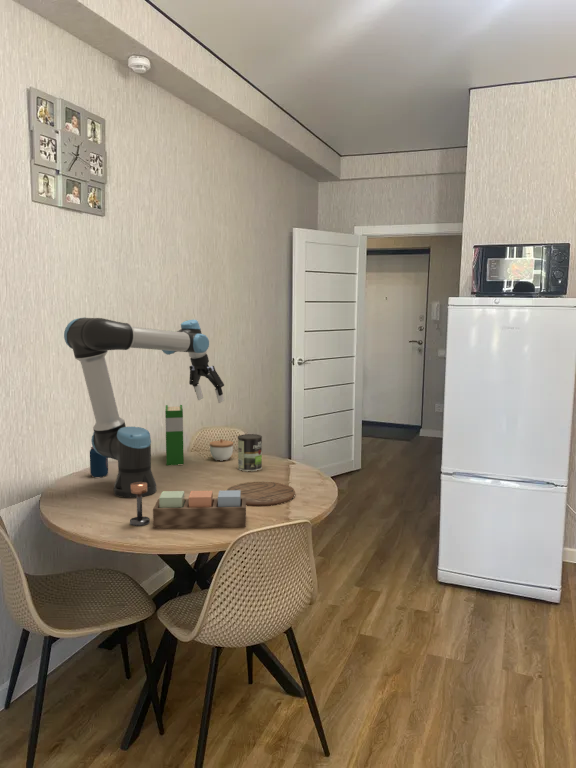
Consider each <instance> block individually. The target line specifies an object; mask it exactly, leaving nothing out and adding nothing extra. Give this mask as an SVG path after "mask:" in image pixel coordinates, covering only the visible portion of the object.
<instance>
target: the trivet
mask: <svg viewBox="0 0 576 768" xmlns="http://www.w3.org/2000/svg"><path fill="white" fill-rule="evenodd" d="M226 490H241V498H246V505H247V506H246V507H270V506H271V505H272V506H278V505H277V504H279V505H282V504H281V503H283V504H285V503H284V502H286V503H288V502H287V501H289V500H291V499H292V498H293V497H294V495H295V496H296V491H295V489H294V487H292V486H290V485H288V484H286V483H285V484H284V483H281V482H275V481H250V482H249V481H248V482H243V483H236V484H234V485H232V486H230V487H228V488H227V489H226ZM294 498H295V497H294ZM292 500H293V499H292ZM292 500H291V501H292ZM289 502H290V501H289ZM272 506H271V507H272Z"/></svg>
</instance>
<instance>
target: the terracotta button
mask: <svg viewBox="0 0 576 768" xmlns="http://www.w3.org/2000/svg"><path fill="white" fill-rule="evenodd" d="M213 494H214V493H213V490H191V491H190V493H189V496H188V499H189V507H212V504H213V496H214V495H213Z"/></svg>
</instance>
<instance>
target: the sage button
mask: <svg viewBox="0 0 576 768" xmlns="http://www.w3.org/2000/svg"><path fill="white" fill-rule="evenodd" d="M158 499H159V508H181V507H183V506H184V503H185V499H186V497H185V490H172V491H171V490H170V491H169V490H165V491H162V492H161V494H160V495H159V497H158Z"/></svg>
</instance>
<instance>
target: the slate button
mask: <svg viewBox="0 0 576 768" xmlns="http://www.w3.org/2000/svg"><path fill="white" fill-rule="evenodd" d="M217 498H218V507H240V504H241V490H227V489H226V490H218V495H217Z"/></svg>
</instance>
